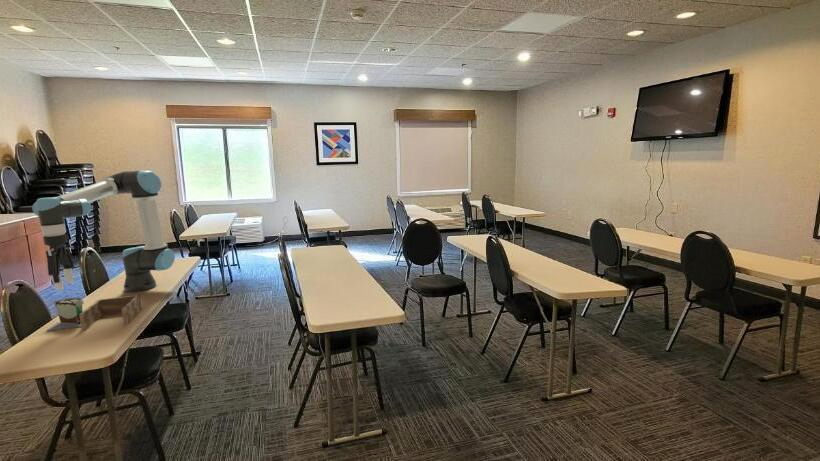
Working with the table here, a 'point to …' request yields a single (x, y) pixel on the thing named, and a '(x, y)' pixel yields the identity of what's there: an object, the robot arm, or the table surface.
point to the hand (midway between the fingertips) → (65, 286)
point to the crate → (111, 309)
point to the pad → (63, 326)
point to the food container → (69, 310)
